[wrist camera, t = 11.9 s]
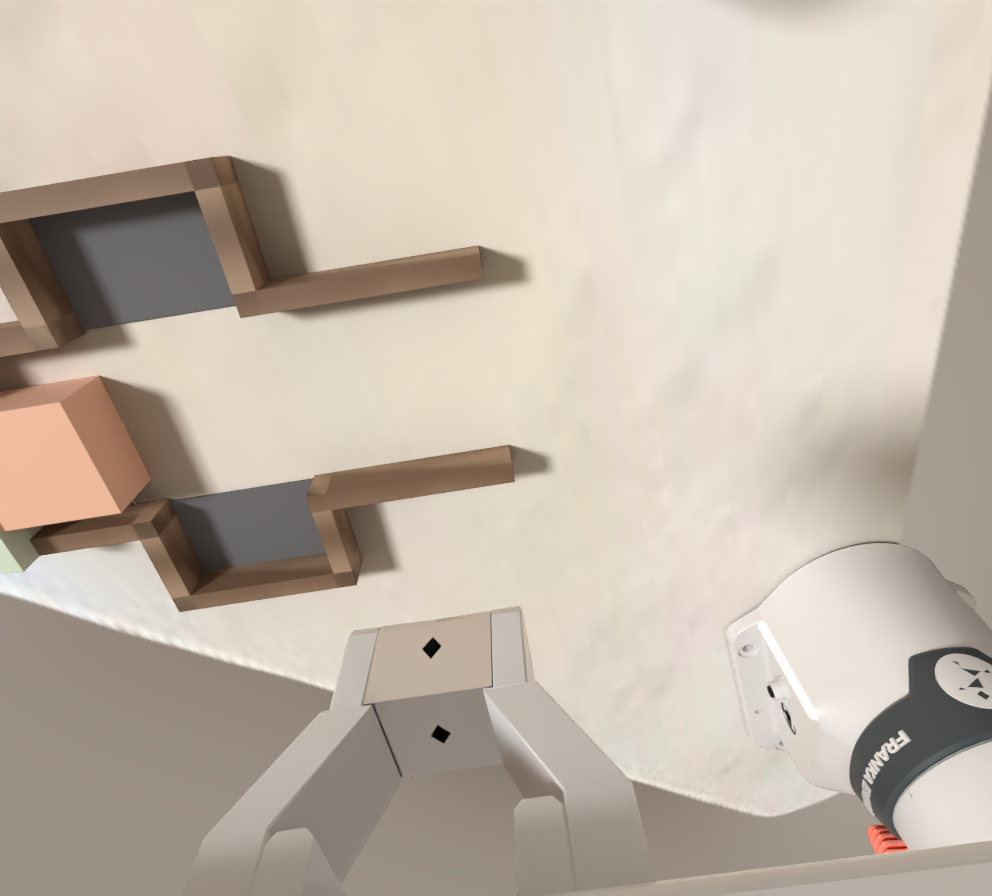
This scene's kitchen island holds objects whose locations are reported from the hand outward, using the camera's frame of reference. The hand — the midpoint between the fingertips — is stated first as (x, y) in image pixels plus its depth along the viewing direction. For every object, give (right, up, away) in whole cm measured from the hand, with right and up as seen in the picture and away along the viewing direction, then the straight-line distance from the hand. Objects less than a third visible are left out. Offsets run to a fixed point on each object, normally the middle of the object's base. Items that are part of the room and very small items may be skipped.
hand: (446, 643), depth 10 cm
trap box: (-14, +6, +24) cm, 29 cm away
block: (-25, +4, +25) cm, 35 cm away
